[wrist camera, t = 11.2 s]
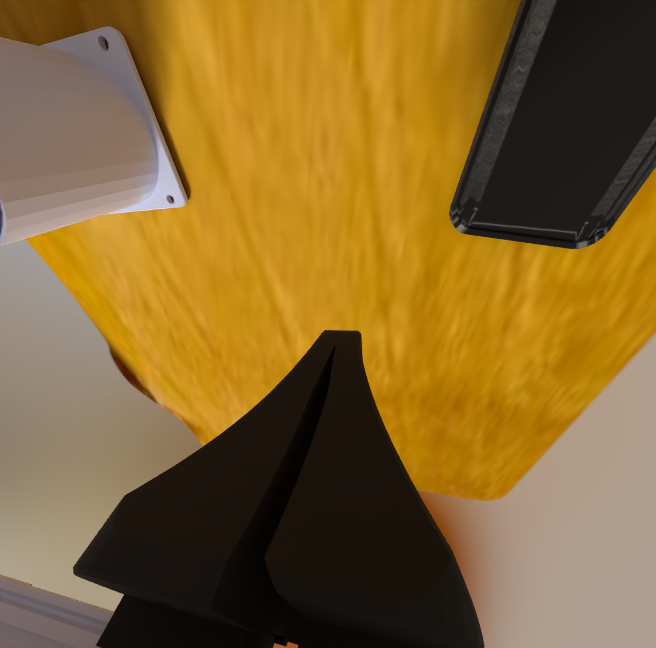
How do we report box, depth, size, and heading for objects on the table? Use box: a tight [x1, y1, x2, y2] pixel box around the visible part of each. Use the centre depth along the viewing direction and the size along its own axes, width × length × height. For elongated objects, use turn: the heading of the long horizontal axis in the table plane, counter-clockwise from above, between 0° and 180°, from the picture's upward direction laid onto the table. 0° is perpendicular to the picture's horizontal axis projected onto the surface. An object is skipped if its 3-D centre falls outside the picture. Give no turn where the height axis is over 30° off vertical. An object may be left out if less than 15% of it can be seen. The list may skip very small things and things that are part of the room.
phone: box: [449, 0, 656, 249], centre depth 10 cm, size 8×1×15 cm
